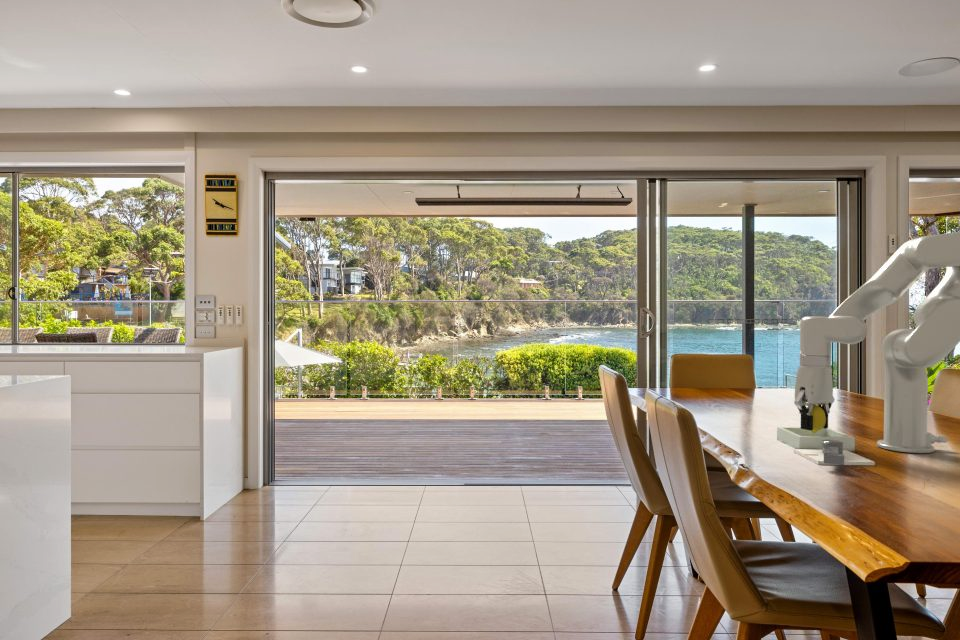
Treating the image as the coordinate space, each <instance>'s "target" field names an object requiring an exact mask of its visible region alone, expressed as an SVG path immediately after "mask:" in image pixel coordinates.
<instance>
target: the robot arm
mask: <svg viewBox="0 0 960 640" xmlns="http://www.w3.org/2000/svg"><path fill="white" fill-rule="evenodd" d="M940 268H945V273H944V276H943V277H942V279H940V281H939V283H938V284H937V285H936V286H935V287H934V288H933V290H931V292H930V293H929V294H928V295H927V296H926V297H925V298H924V299H923V300H922V301H921V302H920V303H919V305H918V306H917V307H916V308H915V310H914V312H913V322H914V324H915V325H916V326H917V327H916V328H900V329H895V330H893V331H891V332H890V333H888V334H887V335H886V336H885V337H884V339H883V341H882V345H881V356H882V357H881V358H882V363H883V371H884V372H883V373H884V374H883V375H884V388H883V389H884V390H883V392H884V393H883V395H884V396H883V397H884V400H883V401H884V402H883V439H879V440H877V441H876V446H877V447H879V448H882V449H884V450H890V451H893V452H901V453H911V454H912V453H913V454H931V453H933V452H934V451H935V446H933V444H935V443H938V444H943V443H944V444H946V443H947V441H948V438H947V436H946V435H944V434H943V435H935V434H932V432H928V392H929V391H928V390H929V384H928V383H929V379H928V378H929V377H928V374H927V373H928V372H927V369H926V368H930V367H934V366H936V365H937V364H939V363H941V362H942V361H943V360H944V359H945V358H946V357H947V356H948V355H949V354H950V353H951V352H952V351H953V350H954V349H955V348H956V346H958V344H959V343H960V231H955V232H949V233H948V232H947V233H939V234H930V235H924V236H920V237H916V238H911V239H908V240H907V241H906V242H904V243H903V244H901V245H900V247H898V248H897V250H895V252H894V253H893V254H892V255H891V256H890V257H889V258H888V259H887V260H886V261H885V262H884V264H883V265H882V266H881V267H880V268H879V269H878V270H876V272H875V273H874V274H873V275H872V276H871V277H870V278H869V279H868V280H867V281H866V282H865V283H863V284H862V285H860V287H859V288H857V290H855V291H854V292H853V293H852V294H850V295H848V297H847V298H846V299H845V300H843V302H841V304H839V305H838V307H836V309H835V310H834V311H833V312H832V313H831V314H830V315H829V316H821V315H820V316H817V315H816V316H815V315H814V316H812V315H811V316H810V315H807V316H804V317H802V318H801V319H800V326H799V366H797V370H796V377H795V384H794V385H795V387H794V401H793V403H794V405H795V406H796V407H797V409H798V411H799V412H798V413H799V415H800V427H801V429H805V430H813V416H812V415H811V413H812V409H813V405H815V404H816V405H817V406H819V407H821V408H822V409H823V411H824V413H825V416H826V423H825V426H824V427H823V428H825V429H826V428H829V414H830V412H831V411H830V410H831V408H832V405H833V403H834V402H835V397H834V393H833V392H834V387H833V386H834V384H833V374H832V343H839V344H843V345H856V344H858V343H860V342H862V341H864V340H865V338H867V335H868V332H869V331H868V330H869V329H868V325H867V324H866V322H865V321H866V319H867V318H869V317H870V316H871V315H872V314H874V313H875V312H877V311H879V310H881V309H883V308H885V307H887V306H890V305H892V304H894V303H896V302H897V301H898V300H899V299H901V298H902V297H903V296H904V295H905V293H906V292H907V291H908V290H909V289H910V288H911V287H912V286H913V285H914V284H915V283H916V282H917V281H918V280H919V278H921V277H922V275H923V274H924V273H925V272H927V270H931V269H940ZM807 407H808V409H807Z"/></svg>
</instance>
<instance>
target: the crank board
mask: <svg viewBox="0 0 960 640" xmlns="http://www.w3.org/2000/svg"><path fill="white" fill-rule="evenodd" d="M793 453H794V454H797V455H798V456H801V457H802V458H804V459H806V460H809V461H810V462H812V463H814V464H817V465H822V466H823V465H827V466H828V465H829V466H831V465H833V466H834V465H835V466H836V465H838V464H828V463H824V454H823V453H822V450H819V449H796V448H794V449H793ZM843 454H844V465H843V466H875V465H876V463H875V461H873V460H871V459H869V458H866V457H864V456H861V455H859V454H856V453H855V452H853V451H847V450H843ZM838 466H839V465H838Z"/></svg>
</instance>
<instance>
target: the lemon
mask: <svg viewBox="0 0 960 640" xmlns="http://www.w3.org/2000/svg"><path fill="white" fill-rule="evenodd" d="M821 407H822V406H821ZM821 407H819V406H817V405H816V404H815V405H813V409H812V413H811V415H812V416H813V430H810V431H811V432H812V433H816V432H817V431H819V430H821V429H822V428H823V427H824V426H825V423H826V416H825V413H824V411H823V409H822V408H821ZM806 408H807V409H808V406H806Z"/></svg>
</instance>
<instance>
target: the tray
mask: <svg viewBox="0 0 960 640" xmlns="http://www.w3.org/2000/svg"><path fill="white" fill-rule="evenodd" d="M776 439H777V440H778V441H779V442H781V443H784V444H785V445H788V446H789V447H791V448H794V449H819V450H822V440H837V441H841V442H843V450H847V451H850V452H855V451H856V449H855V446H856V444H855V443H856V442H855V441H856V440H855V439H856V437H855V436H852V435H850V434H846V433H843V432H840V431H837V430H835V429H832V428H830V427H828V428H826V429H825V428H822V429H821V430H819V431H817V432H816V433H812V432H811V431H810V430H805V429H801V426H799V427H796V426H792V427H790V426H777V427H776Z"/></svg>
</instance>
